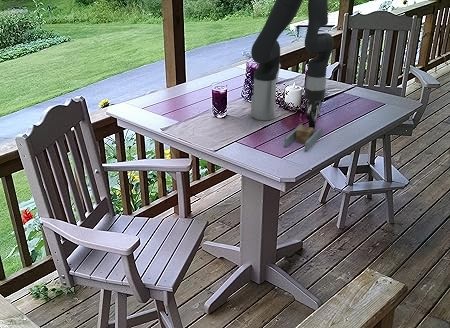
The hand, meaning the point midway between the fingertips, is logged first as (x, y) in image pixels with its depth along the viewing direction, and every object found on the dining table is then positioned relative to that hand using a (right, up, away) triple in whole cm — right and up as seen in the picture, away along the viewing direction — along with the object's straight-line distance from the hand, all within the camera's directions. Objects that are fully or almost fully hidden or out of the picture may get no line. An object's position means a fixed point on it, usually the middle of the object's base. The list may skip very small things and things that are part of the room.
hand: (311, 128), depth 204 cm
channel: (-4, -5, -6) cm, 9 cm away
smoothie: (-10, +27, +58) cm, 65 cm away
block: (-4, -5, -5) cm, 8 cm away
